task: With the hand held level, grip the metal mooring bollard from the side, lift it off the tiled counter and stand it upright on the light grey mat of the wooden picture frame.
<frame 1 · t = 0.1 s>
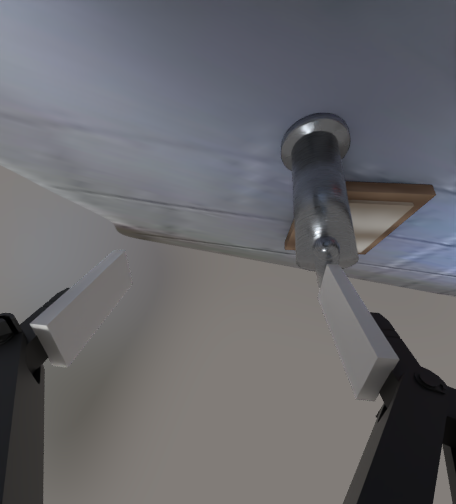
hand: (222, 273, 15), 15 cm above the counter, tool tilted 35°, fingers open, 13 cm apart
metal mooring bollard: (313, 143, 23), on the counter, touching gripper
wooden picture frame: (341, 219, 34), on the counter
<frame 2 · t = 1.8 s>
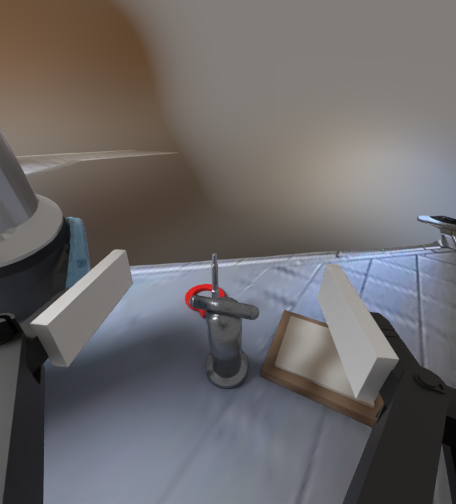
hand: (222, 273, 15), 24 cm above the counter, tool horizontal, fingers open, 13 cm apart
metal mooring bollard: (226, 366, 35), on the counter, tilted 7°
tow hook: (206, 300, 49), on the counter
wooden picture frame: (321, 360, 37), on the counter
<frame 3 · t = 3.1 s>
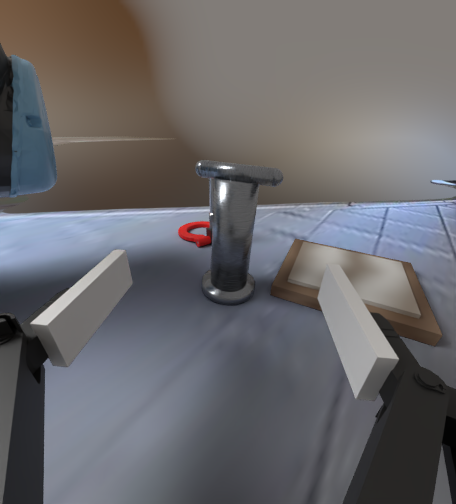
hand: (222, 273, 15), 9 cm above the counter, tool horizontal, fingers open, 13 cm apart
metal mooring bollard: (228, 287, 28), on the counter
tow hook: (202, 235, 42), on the counter
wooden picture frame: (344, 282, 30), on the counter
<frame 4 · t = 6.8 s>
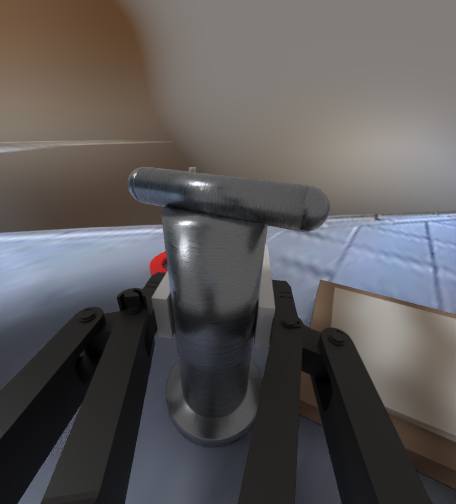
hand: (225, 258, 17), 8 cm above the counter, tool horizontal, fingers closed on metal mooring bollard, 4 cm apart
metal mooring bollard: (214, 390, 16), on the counter, touching gripper
tow hook: (185, 270, 30), on the counter
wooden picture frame: (416, 371, 17), on the counter
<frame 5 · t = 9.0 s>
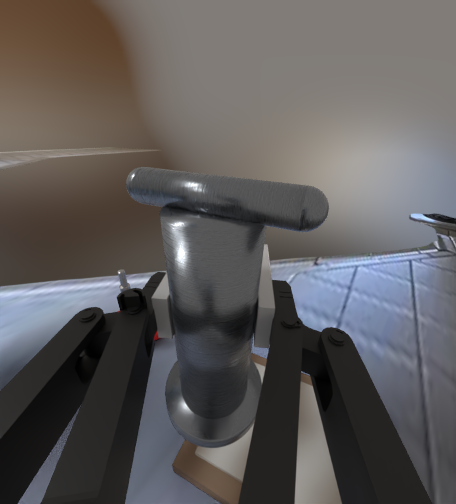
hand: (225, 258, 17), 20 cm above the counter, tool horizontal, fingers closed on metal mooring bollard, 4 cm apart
metal mooring bollard: (214, 390, 16), point 12 cm above the counter, touching gripper
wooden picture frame: (276, 433, 24), on the counter
when the fingers open (11 cm above the counter, at t = 11.2 s): metal mooring bollard drops 1 cm, resting on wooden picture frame.
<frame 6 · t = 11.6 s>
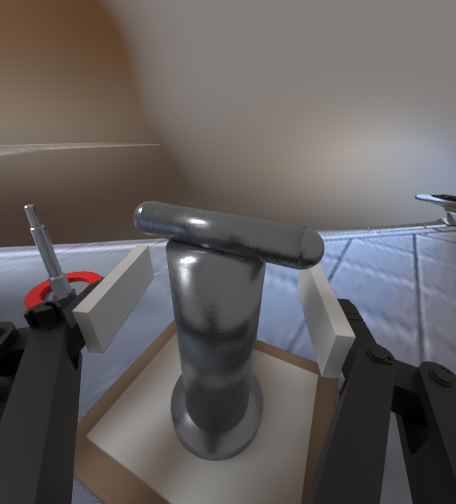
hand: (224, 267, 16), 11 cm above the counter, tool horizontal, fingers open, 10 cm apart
metal mooring bollard: (217, 403, 16), point 2 cm above the counter, touching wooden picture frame
tow hook: (68, 296, 30), on the counter
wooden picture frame: (216, 416, 17), on the counter
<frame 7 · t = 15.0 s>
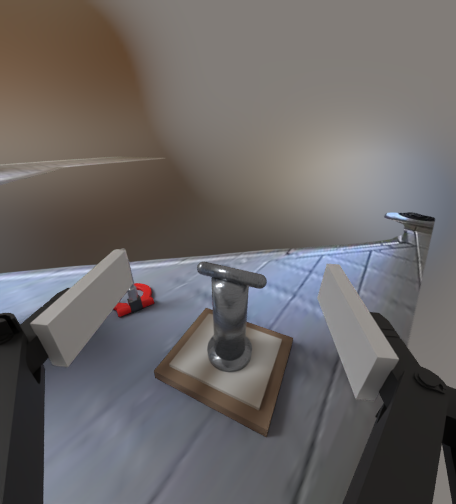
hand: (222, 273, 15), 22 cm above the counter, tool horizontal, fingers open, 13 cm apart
metal mooring bollard: (229, 351, 33), point 2 cm above the counter, touching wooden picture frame
tow hook: (131, 300, 47), on the counter
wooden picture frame: (228, 359, 34), on the counter
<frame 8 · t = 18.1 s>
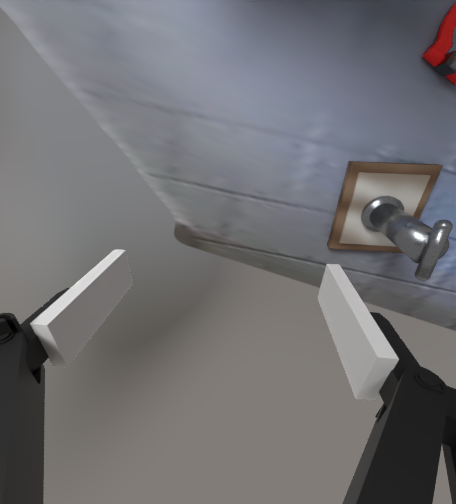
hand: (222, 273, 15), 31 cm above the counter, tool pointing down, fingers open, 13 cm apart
metal mooring bollard: (380, 213, 40), point 2 cm above the counter, touching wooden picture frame
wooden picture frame: (375, 208, 42), on the counter
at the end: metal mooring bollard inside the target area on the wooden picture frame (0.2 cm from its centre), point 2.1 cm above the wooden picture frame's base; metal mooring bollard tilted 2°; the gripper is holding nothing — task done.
